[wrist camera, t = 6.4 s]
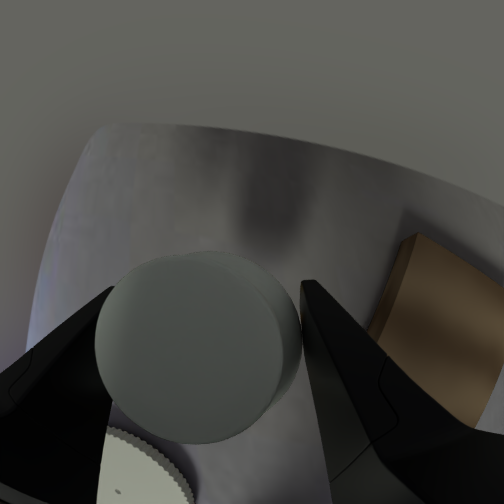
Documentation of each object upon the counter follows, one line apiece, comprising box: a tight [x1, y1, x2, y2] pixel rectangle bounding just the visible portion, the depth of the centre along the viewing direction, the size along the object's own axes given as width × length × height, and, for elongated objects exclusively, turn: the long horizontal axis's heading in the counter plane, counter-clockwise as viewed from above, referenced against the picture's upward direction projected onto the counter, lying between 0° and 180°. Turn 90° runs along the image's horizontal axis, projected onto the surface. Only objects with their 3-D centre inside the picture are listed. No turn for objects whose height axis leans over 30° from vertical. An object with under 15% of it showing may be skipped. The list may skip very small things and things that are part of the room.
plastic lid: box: [97, 426, 195, 504], centre depth 17 cm, size 14×14×2 cm
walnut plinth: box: [367, 232, 504, 428], centre depth 18 cm, size 14×14×3 cm
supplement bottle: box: [95, 251, 303, 444], centre depth 10 cm, size 5×5×10 cm
